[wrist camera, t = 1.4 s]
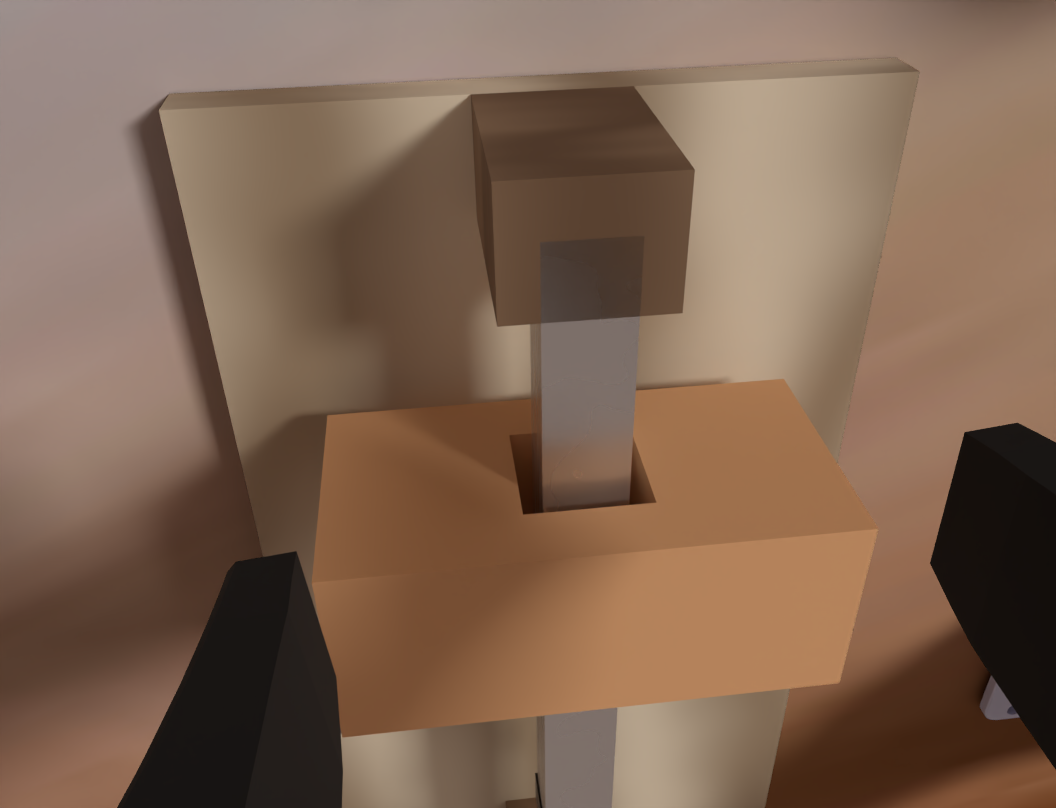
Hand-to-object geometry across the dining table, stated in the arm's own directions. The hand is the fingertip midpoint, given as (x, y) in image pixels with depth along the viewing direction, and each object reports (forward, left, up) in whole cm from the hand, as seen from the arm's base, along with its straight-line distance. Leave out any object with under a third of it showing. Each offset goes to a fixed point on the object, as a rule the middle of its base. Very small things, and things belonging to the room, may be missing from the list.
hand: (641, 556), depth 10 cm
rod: (0, +10, -7) cm, 12 cm away
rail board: (0, +10, -11) cm, 15 cm away
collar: (0, +6, -9) cm, 11 cm away
